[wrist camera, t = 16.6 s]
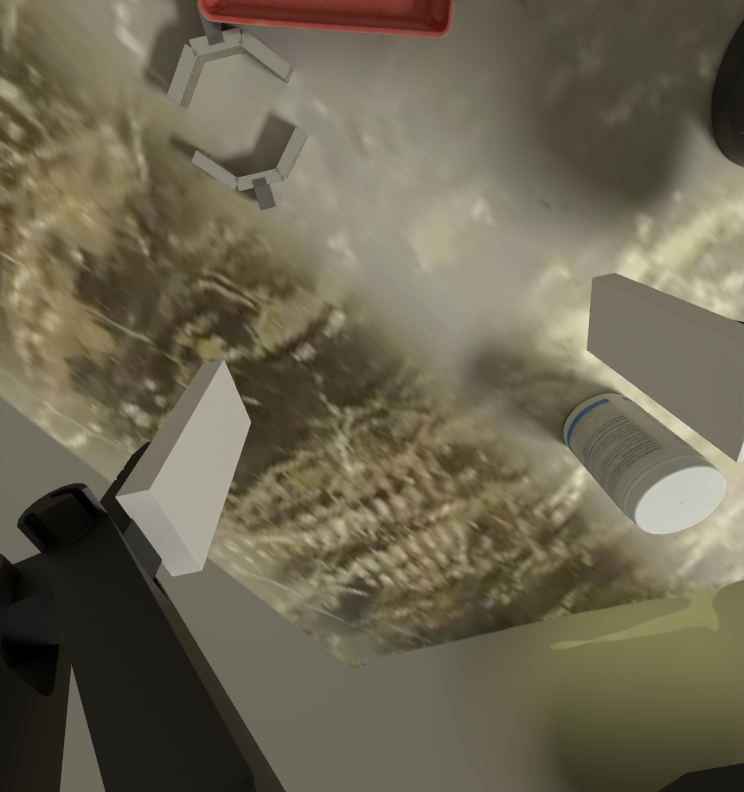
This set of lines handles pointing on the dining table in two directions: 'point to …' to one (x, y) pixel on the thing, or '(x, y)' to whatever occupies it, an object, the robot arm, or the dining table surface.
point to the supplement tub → (643, 464)
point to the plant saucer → (338, 15)
